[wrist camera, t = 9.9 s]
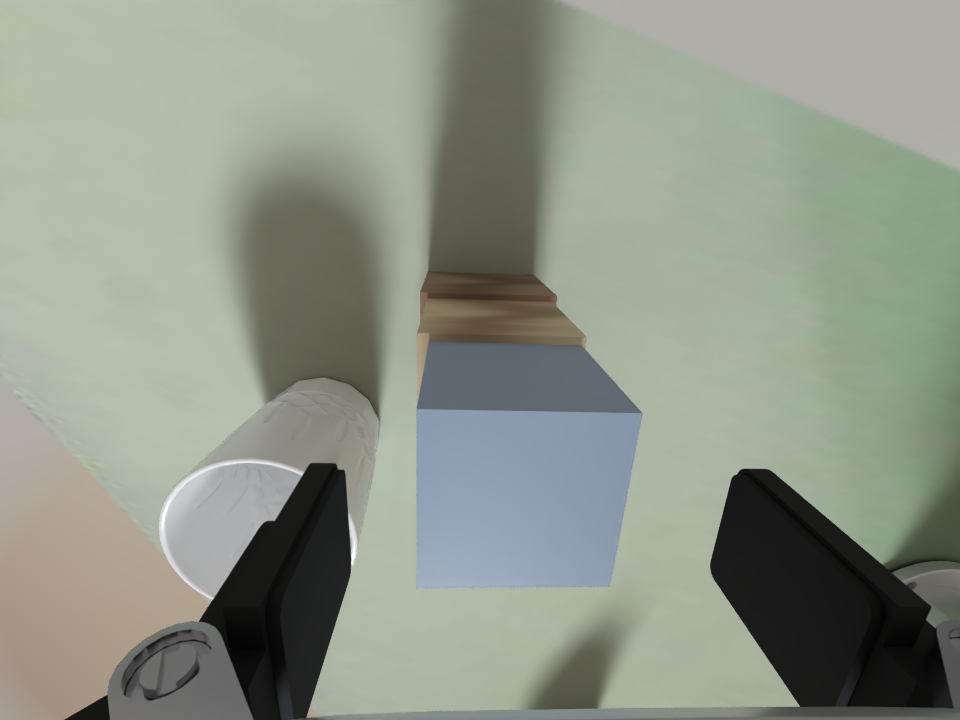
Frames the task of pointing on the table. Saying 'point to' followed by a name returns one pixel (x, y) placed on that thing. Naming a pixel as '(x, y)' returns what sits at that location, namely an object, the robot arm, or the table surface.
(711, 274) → the table surface
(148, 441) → the table surface
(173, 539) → the white cup
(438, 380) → the slate block
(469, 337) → the tower mid
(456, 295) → the tower base
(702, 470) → the table surface
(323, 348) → the table surface
